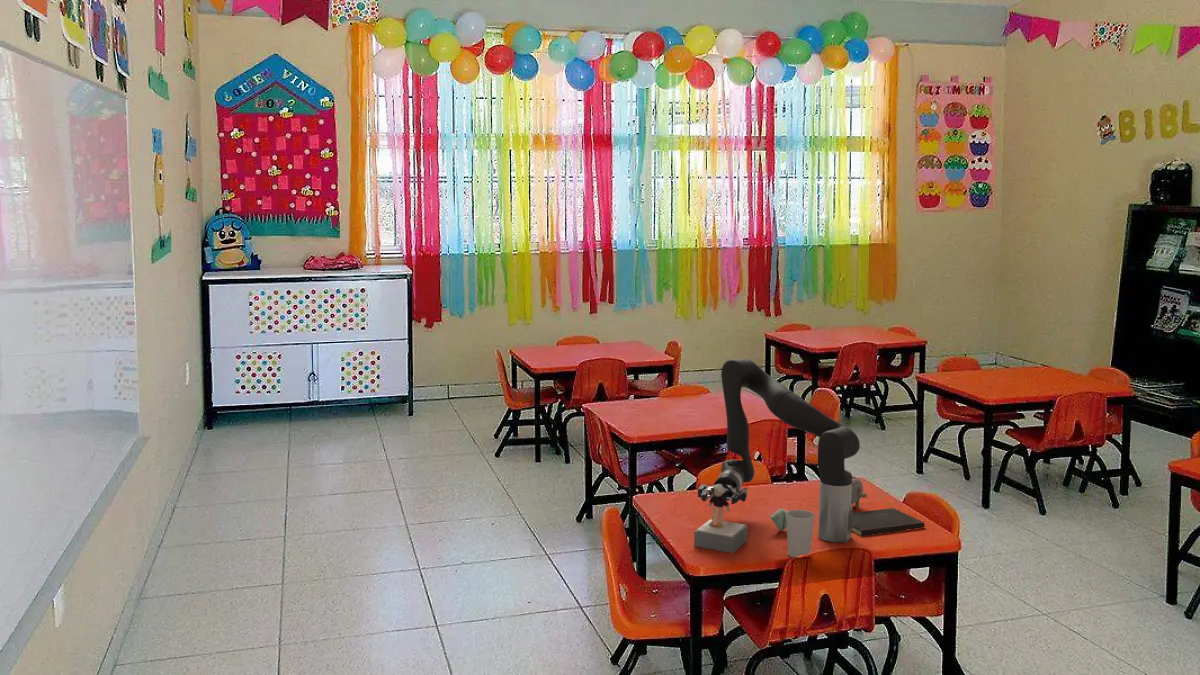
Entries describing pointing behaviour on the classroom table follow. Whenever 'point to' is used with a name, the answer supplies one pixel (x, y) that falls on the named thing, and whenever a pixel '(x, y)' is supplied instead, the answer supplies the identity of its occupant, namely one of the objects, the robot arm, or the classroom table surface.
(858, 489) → the toy sheep
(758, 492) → the classroom table surface
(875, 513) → the hardcover book
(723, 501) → the grandmother figurine
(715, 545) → the plinth
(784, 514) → the robot head
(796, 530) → the cup
